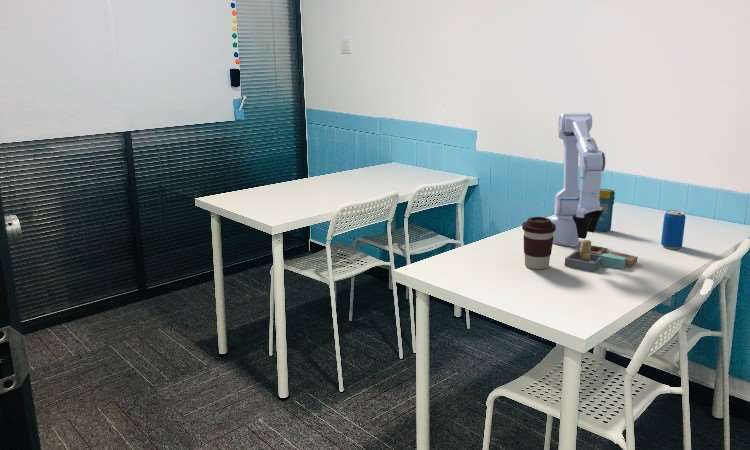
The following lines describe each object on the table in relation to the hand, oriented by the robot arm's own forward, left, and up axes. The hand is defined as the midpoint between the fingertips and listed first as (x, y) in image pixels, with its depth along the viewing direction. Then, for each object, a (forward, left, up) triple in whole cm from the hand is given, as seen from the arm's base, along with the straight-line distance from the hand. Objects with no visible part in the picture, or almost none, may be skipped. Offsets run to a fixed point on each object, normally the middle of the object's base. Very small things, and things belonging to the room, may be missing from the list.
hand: (586, 235), depth 200 cm
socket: (0, +9, -10) cm, 13 cm away
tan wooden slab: (+9, +8, -10) cm, 16 cm away
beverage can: (+18, +33, -10) cm, 39 cm away
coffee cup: (-11, -10, -10) cm, 18 cm away
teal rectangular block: (+8, +4, -10) cm, 13 cm away
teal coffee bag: (-9, +39, -10) cm, 42 cm away
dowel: (0, 0, -9) cm, 9 cm away
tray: (0, 0, -10) cm, 10 cm away
